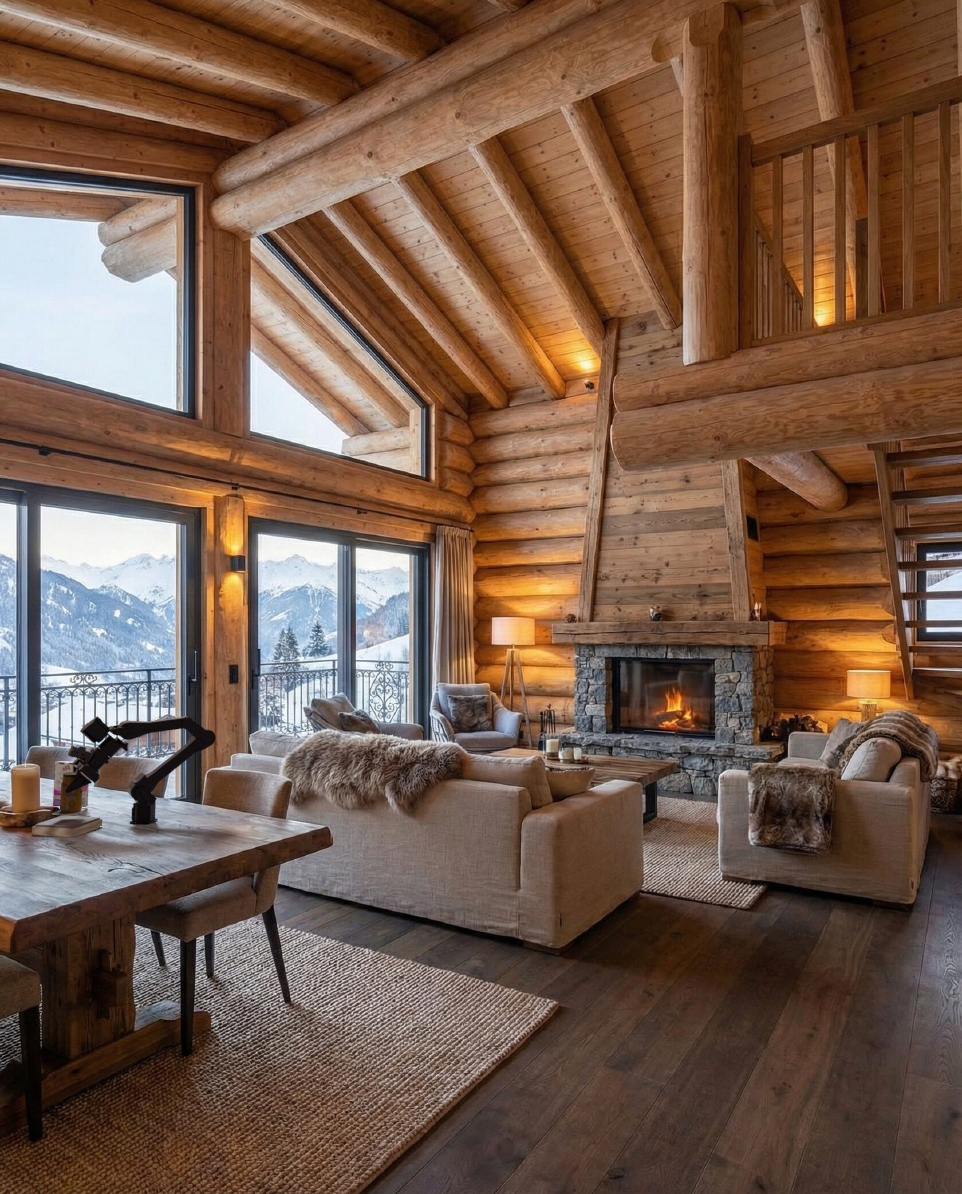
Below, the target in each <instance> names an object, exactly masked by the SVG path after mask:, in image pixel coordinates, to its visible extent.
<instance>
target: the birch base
mask: <svg viewBox="0 0 962 1194" xmlns="http://www.w3.org/2000/svg"><path fill="white" fill-rule="evenodd" d="M100 826H102V827H103V818H101V817H97V816H79V815H59V816H57V817H54V818H52V819H48V820H47V819H46V820H45V821H41V822H38V823H36V824H35V825H33V826H32V829H31V830H32V831H31V834H32V835H34V836H47V837H48V836H49V837H64V838H65V837H66V838H75V837H78V836H80V835H84V834H86V833H89V832H91V830H92V831H94V830H97V829H99V828H98V827H100ZM100 828H101V827H100Z"/></svg>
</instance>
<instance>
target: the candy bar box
mask: <svg viewBox="0 0 962 1194" xmlns="http://www.w3.org/2000/svg"><path fill="white" fill-rule="evenodd" d="M74 761H75V760H60V761H55V762H54V774H53V797H52V798H53V799H52V807H53V806H60V801H61V783H62V781H63V774H64V773H68V772H73V765H74V766H76V765H75V764H74V763H73V762H74ZM88 800H89V784H88V785H85V786H83V787H82V806H81V808H82V807H86V806H89V805H88V802H89V801H88Z"/></svg>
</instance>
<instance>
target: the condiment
mask: <svg viewBox="0 0 962 1194" xmlns="http://www.w3.org/2000/svg"><path fill="white" fill-rule="evenodd" d="M75 777H76V772H68V773H64V774H63V781H62V783H61V801H60V809H58V810H57V811H55V812H52V813H51V815H53V816H54V815H56V816H63V815H65V816H77V815H78V814H79V813H81V812H83V811H85V810H87V808H81V806H82V787H81V788H78V789H76V790H74V791H72V792H69V793H66V792H65V790H66V788H67V787H68V786H69V784H70V783H71V782H72V781H73V779H74V778H75Z"/></svg>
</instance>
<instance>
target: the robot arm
mask: <svg viewBox="0 0 962 1194" xmlns="http://www.w3.org/2000/svg"><path fill="white" fill-rule="evenodd" d="M183 729H184V730H185V731H186V732H188V733H189V734H190V735H191V736H190V737H189V739H188V740H187V742H186V744H185V745H183V746H182V747H181V748H179V749H178V750H177V751H176V752H174V753H173V754H172V755H170V756H169V757H168V758H167V759H165V760H164V761H163V762H161V764H159V765H158V766H157V767H156V768H154V769H152V771H150V772H148V773H146V774H145V773H143V772H142V771H141V772H140V773H139V774H137V776H136V777H134V778H131V779H130V781H131V782H130V783H129V784H128V786H127V793H128V794H129V796H130V797H131V798H132V799H133V800H134V803H133V804H132V807H131V817H130V819H131V820H130V821H129V824H138V825H139V824H143V825H149V824H151V823H153V822H156V821H158V818H156V808H157V807H156V806H157V805H156V804H157V803H156V801H157V797H156V796H155V795H154V794H152V792H154V790H155V788H156V787H157V786H158V784H159V783H160V782H161V781H162V780H163V779H165V778H166V777H167V776H168V775H170V774H171V773H172V772H173V771H175V770H176V769H177V768H178V767H180V766H181V765H182V764H184V763H185V762H186V761H187V760H189V759H190V758H191V757H192V756H193V755H195V754H197V753H199V752H202V751H204V750H206V749H208V748H209V747H211V746H212V745H214V743H215V742H216V733H215V732H214V731H213V730H211V729H208V728H207V727H202V726H201V725H200V724H199V723H197V722H196V721H195V720H193V718H191V717H189V716H187V715H182V716H178V717H172V718H171V717H170V718H163V719H156V720H155V719H154V720H148V721H143V720H142V721H141V720H123V721H121V722H120V723H119V724H115V725H111V726H108V724H106V723H104V721H102V719H101V718H100V717H99V716H95V717H94V718H92V719H91V720H90V721H88V722H87V723H86V724H84V725H83V727H82V728H80V730H79V732H80V733H81V734H82V735H83V736H84V737H86V738H87V739H88V740H89V741H90V742H92V743H93V744H95V743H98V745H97V747H95V748H91V749H90V750H87V749H86V747H84V746H82V745H79V746H76V745H73V744H71V747H69V750H68V752H67V755H68V756H69V757H70V758H75V760H73V761H74V762H73V763H74V764H75V765H76V766H74V765H73V772H76V777H75V778H74V779H73V781H72V782H71V783H70V784H69V786H68V787H67V788H66V790H65V792H66V793H69V792H72V791H74V790H76V789H78V788H81V787H83V786H85V785H88V786H89V784H93V783H94V784H95V783H97V782H98V781H99V780H100V773H99V772H100V770H101V769H102V768H103V767H104V766H105V765H108V764H109V763H110V760H111V759H112V758H113V757H114V756H115V755H117V753H118V752H119V751H120V750H121V749H122V750H123V751H125V752H129V749H128V747H129V743H128V741H130V740H134V739H138V738H140V737H142V736H145V735H148V734H155V733H160V732H168V731H173V730H174V731H175V730H183ZM109 733H110V734H109ZM111 734H112V735H113V736H116V737H115V738H114V737H112V735H111ZM118 736H119V737H118ZM122 739H123V740H126V741H127V742H124V741H123V740H122Z"/></svg>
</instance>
